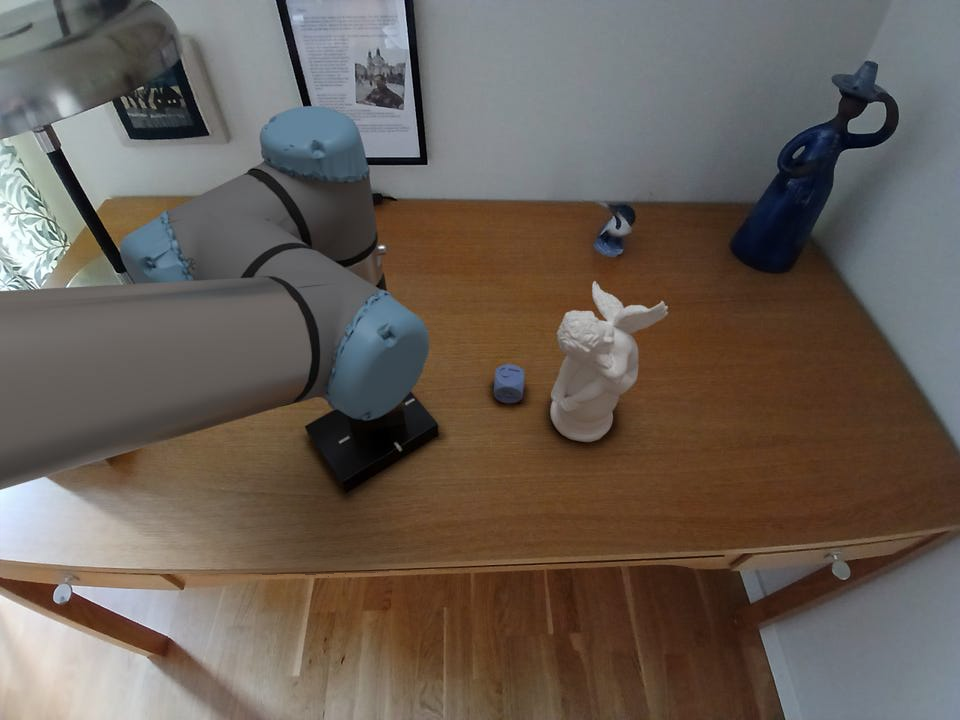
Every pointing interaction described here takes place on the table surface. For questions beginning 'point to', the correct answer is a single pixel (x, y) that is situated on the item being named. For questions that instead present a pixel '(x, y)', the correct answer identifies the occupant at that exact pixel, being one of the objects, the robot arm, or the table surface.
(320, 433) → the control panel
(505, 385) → the decorative dice
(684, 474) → the table surface
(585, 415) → the cherub figurine
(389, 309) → the robot arm
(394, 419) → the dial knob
